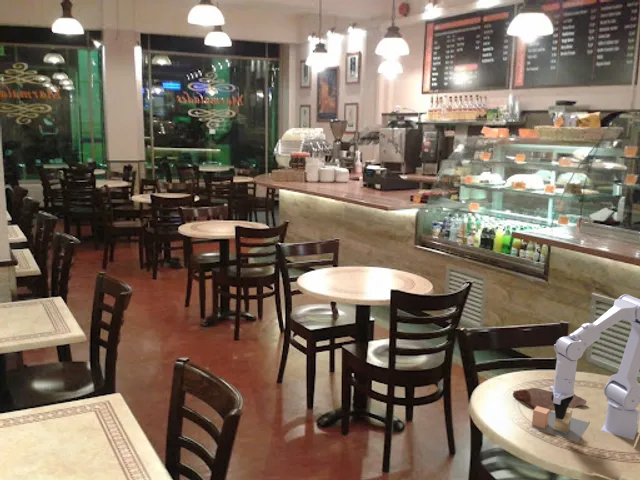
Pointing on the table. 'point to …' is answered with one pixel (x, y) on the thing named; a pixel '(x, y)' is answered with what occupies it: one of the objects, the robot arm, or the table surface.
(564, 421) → the beech block
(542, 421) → the terracotta block
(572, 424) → the slate board
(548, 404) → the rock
